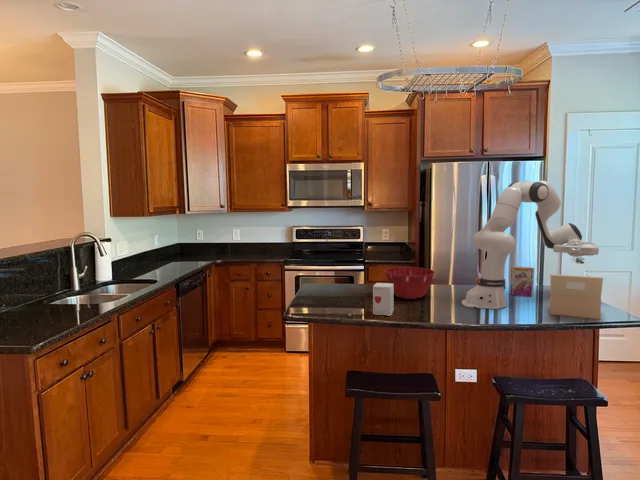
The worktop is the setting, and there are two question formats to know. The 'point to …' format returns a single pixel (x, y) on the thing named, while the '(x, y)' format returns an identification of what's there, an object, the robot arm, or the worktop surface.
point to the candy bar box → (522, 281)
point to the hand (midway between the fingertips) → (575, 250)
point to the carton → (575, 307)
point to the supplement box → (383, 299)
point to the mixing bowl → (410, 281)
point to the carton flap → (576, 286)
